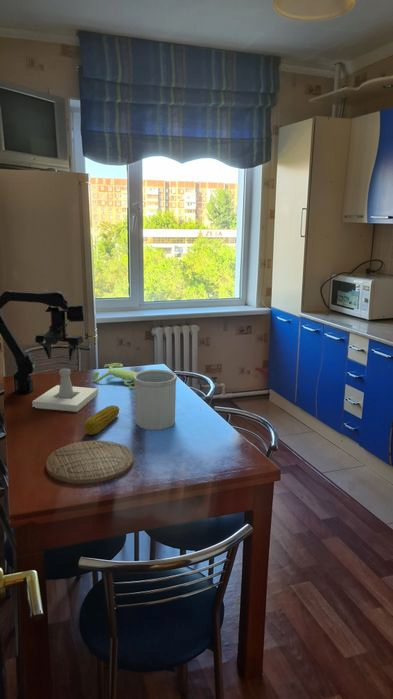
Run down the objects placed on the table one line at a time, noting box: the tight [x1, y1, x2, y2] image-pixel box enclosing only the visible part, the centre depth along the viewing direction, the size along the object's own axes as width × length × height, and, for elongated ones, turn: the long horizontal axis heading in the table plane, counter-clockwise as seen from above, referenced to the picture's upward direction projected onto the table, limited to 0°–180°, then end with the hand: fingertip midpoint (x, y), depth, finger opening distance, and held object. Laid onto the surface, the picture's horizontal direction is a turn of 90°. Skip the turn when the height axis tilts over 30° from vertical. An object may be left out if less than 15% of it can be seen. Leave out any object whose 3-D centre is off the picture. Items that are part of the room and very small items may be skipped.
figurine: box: [91, 362, 139, 390], centre depth 227 cm, size 18×27×6 cm
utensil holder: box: [133, 369, 178, 431], centre depth 178 cm, size 15×15×18 cm
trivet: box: [45, 440, 134, 485], centre depth 150 cm, size 25×25×2 cm
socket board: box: [31, 384, 99, 413], centre depth 200 cm, size 18×20×2 cm
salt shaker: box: [58, 367, 74, 399], centre depth 199 cm, size 6×6×13 cm
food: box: [83, 405, 120, 436], centre depth 177 cm, size 21×6×6 cm, turn 165°
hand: (60, 359), depth 210 cm, fingers open, 9 cm apart
